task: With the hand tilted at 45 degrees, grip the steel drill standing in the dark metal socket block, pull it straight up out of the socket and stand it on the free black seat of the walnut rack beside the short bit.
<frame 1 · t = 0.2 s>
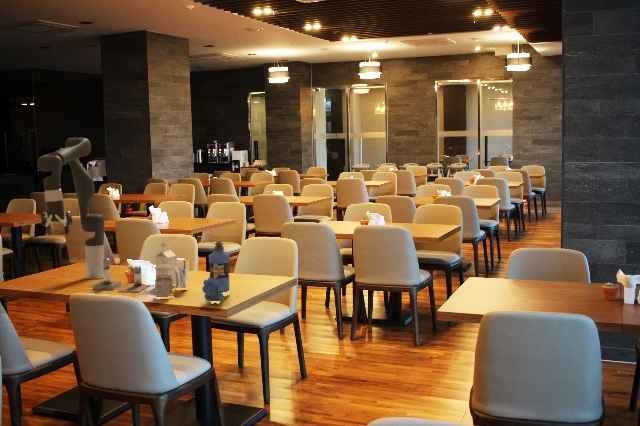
hand: (58, 234, 327), 28 cm above the table, tool pointing down, fingers open, 8 cm apart
rack: (135, 290, 339), on the table
socket block: (107, 289, 341), on the table
grapes: (211, 305, 308), on the table
french press: (163, 297, 325), on the table
milk carton: (166, 286, 349), on the table
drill: (107, 287, 341), point 1 cm above the table, touching socket block
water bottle: (219, 296, 327), on the table
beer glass: (182, 290, 340), on the table
drift key: (96, 287, 348), on the table
short bit: (138, 285, 343), point 2 cm above the table, touching rack
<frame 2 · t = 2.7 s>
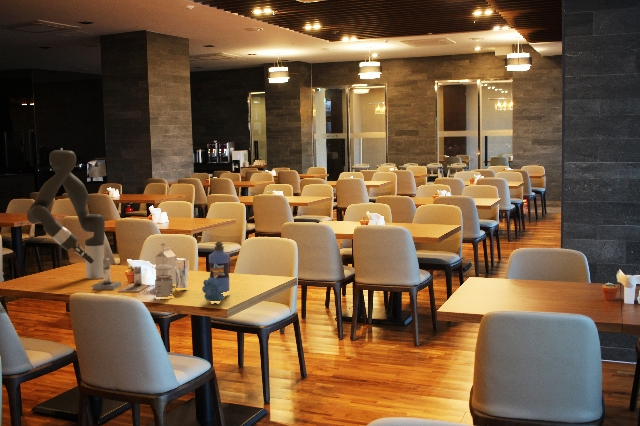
hand: (91, 260, 337), 14 cm above the table, tool tilted 45°, fingers open, 8 cm apart
nothing on the table moved.
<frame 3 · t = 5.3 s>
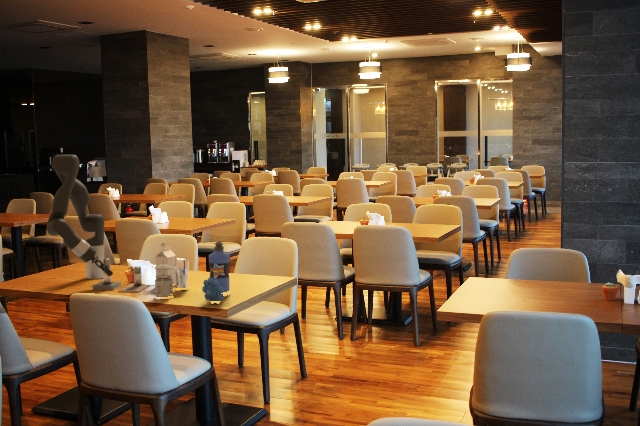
hand: (111, 273, 341), 8 cm above the table, tool tilted 45°, fingers closed on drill, 3 cm apart
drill: (107, 287, 341), point 1 cm above the table, touching gripper, socket block
everything else where it was.
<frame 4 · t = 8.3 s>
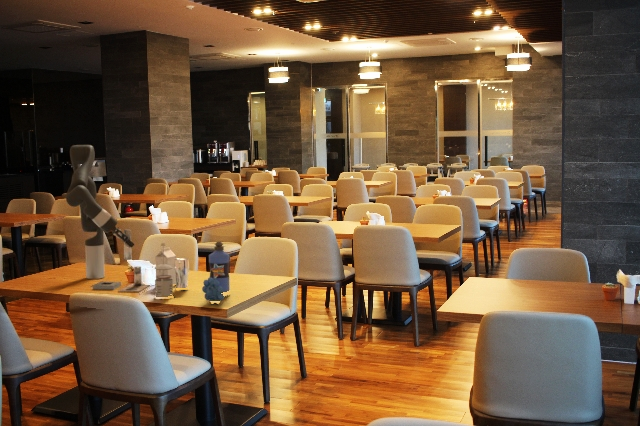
hand: (132, 245, 333), 22 cm above the table, tool tilted 45°, fingers closed on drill, 3 cm apart
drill: (127, 259, 333), point 16 cm above the table, touching gripper
everything else where it was.
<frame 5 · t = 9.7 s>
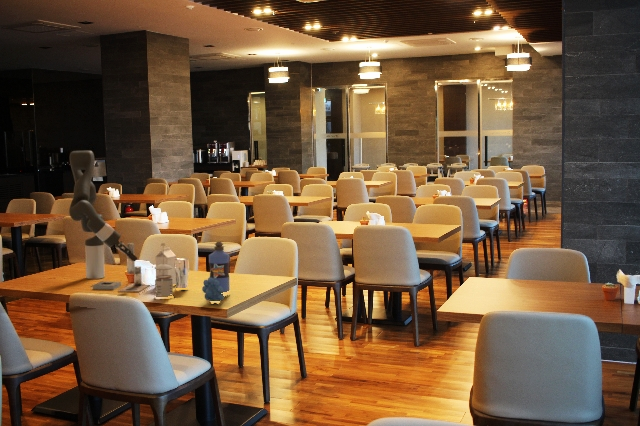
hand: (135, 259, 334), 16 cm above the table, tool tilted 45°, fingers closed on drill, 3 cm apart
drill: (130, 273, 334), point 9 cm above the table, touching gripper
everything else where it was.
when the fingers open (9 cm above the table, at t = 11.1 s): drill drops 1 cm, resting on rack.
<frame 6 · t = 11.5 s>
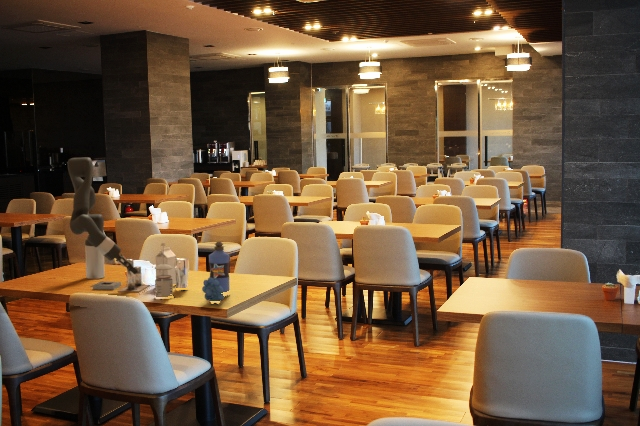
hand: (134, 271, 334), 10 cm above the table, tool tilted 45°, fingers open, 6 cm apart
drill: (131, 289, 334), point 2 cm above the table, touching rack
everything else where it was.
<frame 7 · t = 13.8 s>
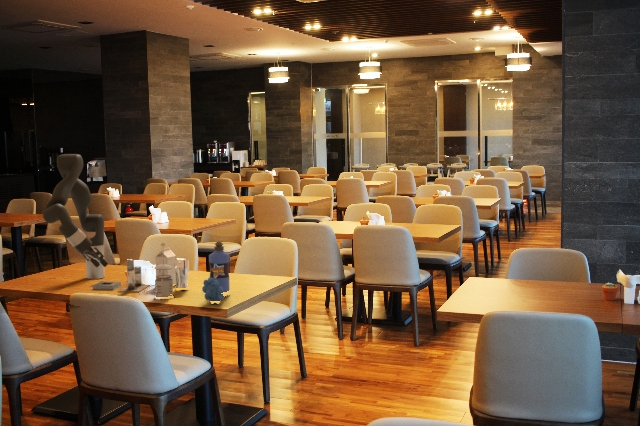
hand: (102, 265, 331), 13 cm above the table, tool tilted 40°, fingers open, 8 cm apart
nothing on the table moved.
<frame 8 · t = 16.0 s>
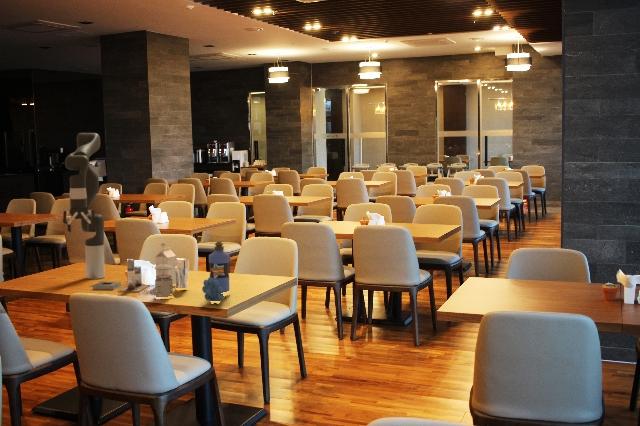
hand: (79, 231, 338), 28 cm above the table, tool pointing down, fingers open, 8 cm apart
nothing on the table moved.
at the end: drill 0.2 cm from the target spot on the rack, point 1.6 cm above the rack's base; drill tilted 0°; the gripper is holding nothing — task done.
